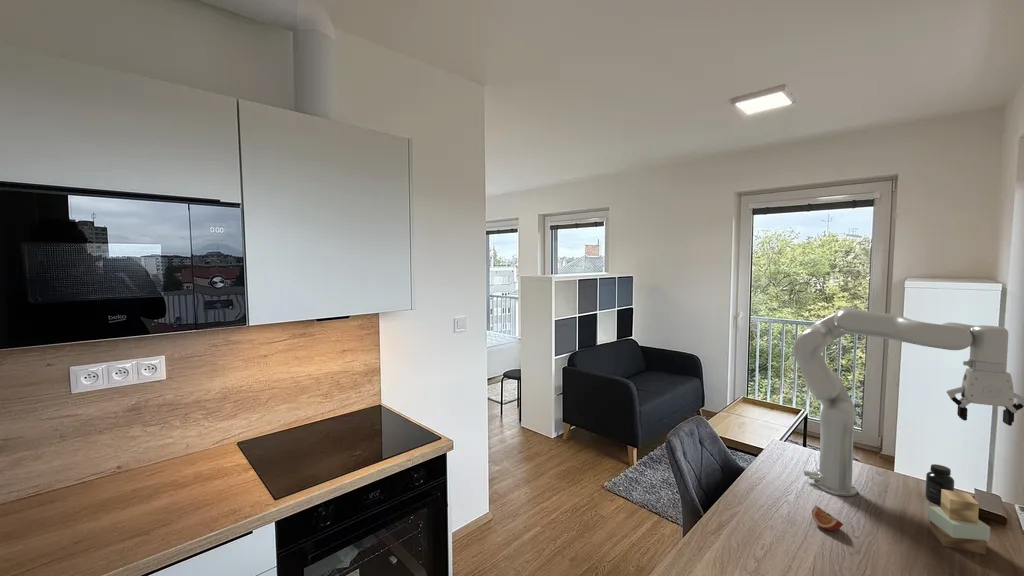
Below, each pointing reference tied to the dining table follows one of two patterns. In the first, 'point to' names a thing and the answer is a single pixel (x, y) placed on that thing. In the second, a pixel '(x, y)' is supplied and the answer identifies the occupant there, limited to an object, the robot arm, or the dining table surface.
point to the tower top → (958, 526)
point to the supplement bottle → (938, 482)
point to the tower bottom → (959, 541)
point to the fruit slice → (825, 519)
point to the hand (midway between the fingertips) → (984, 421)
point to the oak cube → (959, 506)
